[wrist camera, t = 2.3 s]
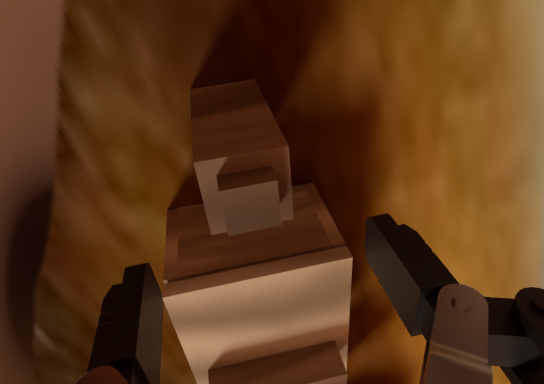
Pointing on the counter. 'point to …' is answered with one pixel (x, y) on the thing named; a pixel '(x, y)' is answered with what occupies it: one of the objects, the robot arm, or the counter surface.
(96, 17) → the counter surface
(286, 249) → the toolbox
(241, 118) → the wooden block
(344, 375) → the lid
